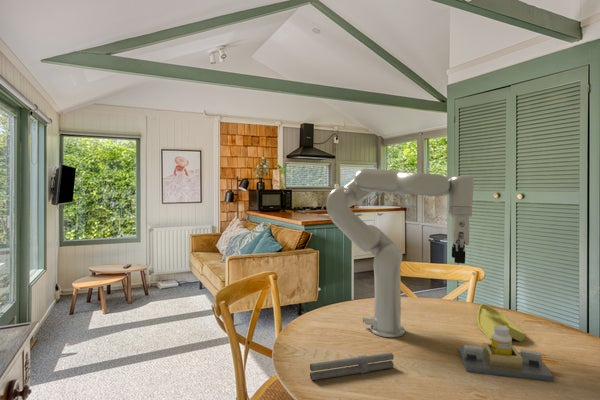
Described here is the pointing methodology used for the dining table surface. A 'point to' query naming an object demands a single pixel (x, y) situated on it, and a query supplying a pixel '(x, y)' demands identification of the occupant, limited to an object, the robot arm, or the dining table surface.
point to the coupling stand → (505, 362)
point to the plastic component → (497, 323)
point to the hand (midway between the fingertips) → (457, 260)
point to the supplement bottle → (501, 341)
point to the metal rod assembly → (351, 366)
